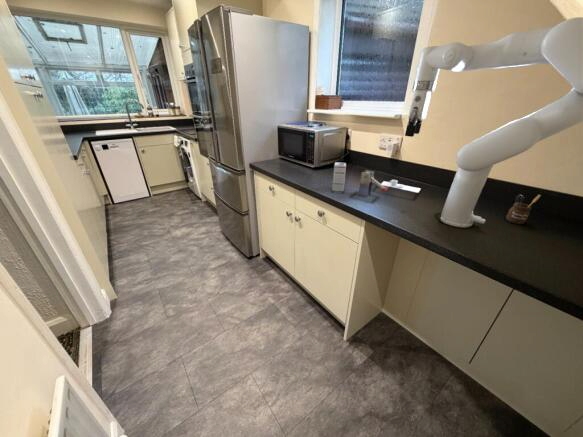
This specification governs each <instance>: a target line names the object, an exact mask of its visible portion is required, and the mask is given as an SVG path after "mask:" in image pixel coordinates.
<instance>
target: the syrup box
mask: <svg viewBox="0 0 583 437" xmlns="http://www.w3.org/2000/svg"><path fill="white" fill-rule="evenodd" d="M346 169H347V162H339V161H338V162H334V165H333V178H332V191H333V192H334V191H335V192H344V190H345V182H346V172H347V170H346Z"/></svg>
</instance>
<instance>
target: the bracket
mask: <svg viewBox="0 0 583 437" xmlns="http://www.w3.org/2000/svg"><path fill="white" fill-rule="evenodd" d="M366 172H369V173H366ZM375 173H376V171H373V170H368V169H365V170H364V171H362V172H361V175H360V183H359V188H358V194H357V195H358V196H359V197H363V198H368V196H371V195H372V190H373V185H374V182H373V181H372V180H371V177H372V178H374V179H375ZM371 175H372V176H371Z"/></svg>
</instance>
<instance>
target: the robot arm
mask: <svg viewBox="0 0 583 437" xmlns="http://www.w3.org/2000/svg"><path fill="white" fill-rule="evenodd" d="M547 64H548V65H549V64H551V66H552V67H553V68H554V69H555V70H556V71H557V72H558V73H559V74H560V75H561V76H562V77H563V78H565V80H566V82H568V83H569V84H570V85H571V86H572V88H570V90H569V91H568V93H566V94H565V95H564V96H563V97H561V98H559V99H557V100H555V101H553V102H551V103H548V104H547V105H545V106H544V107H542V108H540V109H538V110H536V111H534V112H532V113H530V114H528V115H526V116H524V117H521V118H519V119H515V120H513V121H510V122H508V123H507V124H504V125H502V126H500V127H498V128H495V130H492V131H491V132H489V133H486V134H485V135H483V136H481V137H478V138H476V139H475V140H473V141H470V142H469V143H467V144H465V145H463V146H462V147H461V148H460V150H458V151H457V155H456V157H455V162H456V165H457V167H458V168H457V169H456V172H455V174H454V177H453V181H452V183H451V185H450V188H449V191H448V194H447V197H446V199H445V202H444V205H443V208H442V211H441V215H440V218H439V221H440V222H442V223H443V224H445V225H448V226H452V227H456V228H470V227H472V226H473V224H474V223H477V224H480V225H484V224H485V223H486V219H485V218H482V216H481V215H480V216H479V215H475V214H474V209H475V208H476V205H477V202H478V200H479V198H480V196H481V194H482V191H483V189H484V187H485V185H486V182H487V179H488V178H489V175H490V173H491V171H492V170H493V167H494V165H497V164H499V163H501V162H505V161H506V160H509V159H512V158H513V157H516V156H519V155H521V154H522V153H525V152H527V151H528V150H530V149H531V148H533V147H534V146H535V145H536V144H537V143H539V142H540V141H543V140H545V139H548V138H550V137H552V136H554V135H557V134H560V133H561V132H563V131H565V130H567V129H570V128H571V127H574V126H576V125H578V124H580V123H582V122H583V17H580V16H578V17H572V18H568V19H566V20H564V21H562V22H559V23H558V24H556V25H554V26H549V27H541V28H537V29H530V30H522V31H517V32H512V33H509V34H508V35H506V36H504V37H502V38H500V39H498V40H496V41H491V42H487V43H481V44H473V45H466V44H464V43H462V42H451V43H447V44H443V45H433V46H426V47H424V48H423V49H422V50H421V51H420V54H419V58H418V62H417V66H416V71H415V74H414V80H413V83H412V84H413V85H412V88H411V92H413V96H412V99H411V103H410V108H409V112H408V122H407V125H406V129H405V132H404V136H405V137H409V138H410V137H411V138H413V137H414V136H415V134H416V135H419V134H420V132H421V128H422V123H423V120H425V119H427V115H428V110H429V106H430V102H431V101H430V100H431V97H432V96H431V95H432V93H434V92H435V90H436V86H437V81H438V77H439V74H440V70H446V71H451V72H468V71H480V70H488V69H503V68H513V67H523V66H537V65H547Z"/></svg>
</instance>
